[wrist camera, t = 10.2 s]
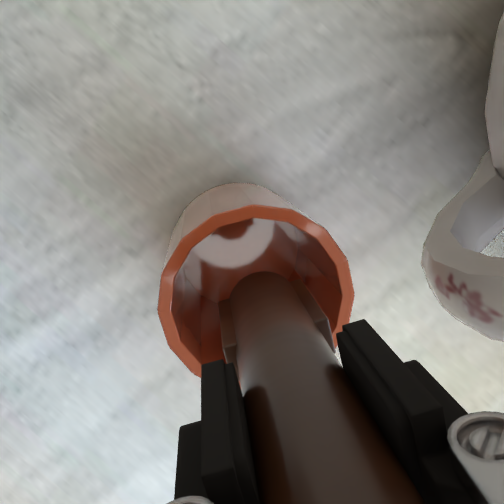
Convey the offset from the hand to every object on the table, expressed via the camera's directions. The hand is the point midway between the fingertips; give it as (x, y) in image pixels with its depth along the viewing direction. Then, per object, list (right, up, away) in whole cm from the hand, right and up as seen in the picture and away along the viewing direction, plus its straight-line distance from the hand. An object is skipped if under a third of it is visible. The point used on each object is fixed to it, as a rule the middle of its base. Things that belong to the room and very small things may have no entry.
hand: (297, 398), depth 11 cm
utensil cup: (-2, +4, +15) cm, 16 cm away
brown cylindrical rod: (-1, +2, +6) cm, 7 cm away
